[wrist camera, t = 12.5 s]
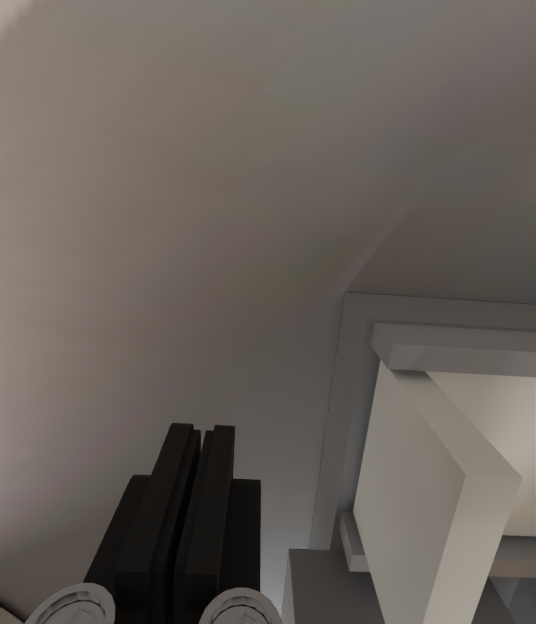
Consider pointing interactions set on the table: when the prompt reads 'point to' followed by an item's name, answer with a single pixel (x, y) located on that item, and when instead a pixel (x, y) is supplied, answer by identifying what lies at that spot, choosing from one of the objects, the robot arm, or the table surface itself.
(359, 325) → the housing
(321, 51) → the table surface
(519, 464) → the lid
